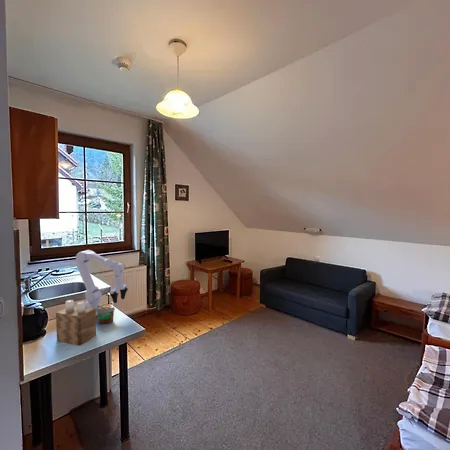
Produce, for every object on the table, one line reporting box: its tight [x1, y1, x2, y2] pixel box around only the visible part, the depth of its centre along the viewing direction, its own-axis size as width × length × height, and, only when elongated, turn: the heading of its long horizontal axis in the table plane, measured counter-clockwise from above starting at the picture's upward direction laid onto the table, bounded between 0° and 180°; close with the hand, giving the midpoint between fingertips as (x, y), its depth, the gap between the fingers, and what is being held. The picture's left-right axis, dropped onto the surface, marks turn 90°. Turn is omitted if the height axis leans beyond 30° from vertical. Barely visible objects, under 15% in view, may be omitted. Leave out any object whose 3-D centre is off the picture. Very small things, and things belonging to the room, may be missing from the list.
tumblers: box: [65, 299, 86, 313], centre depth 149 cm, size 12×4×5 cm, turn 73°
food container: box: [96, 305, 116, 325], centre depth 170 cm, size 12×6×10 cm, turn 76°
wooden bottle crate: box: [55, 304, 97, 347], centre depth 150 cm, size 16×12×16 cm
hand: (119, 300), depth 181 cm, fingers open, 7 cm apart
